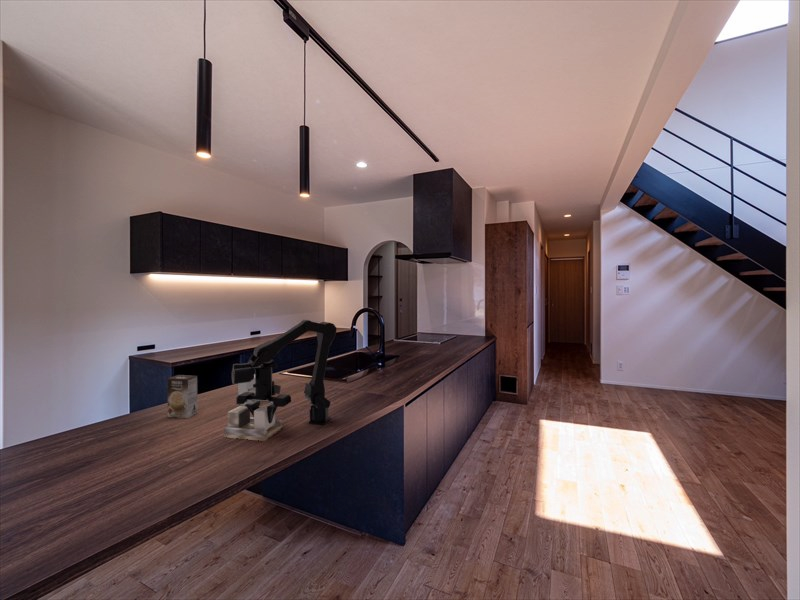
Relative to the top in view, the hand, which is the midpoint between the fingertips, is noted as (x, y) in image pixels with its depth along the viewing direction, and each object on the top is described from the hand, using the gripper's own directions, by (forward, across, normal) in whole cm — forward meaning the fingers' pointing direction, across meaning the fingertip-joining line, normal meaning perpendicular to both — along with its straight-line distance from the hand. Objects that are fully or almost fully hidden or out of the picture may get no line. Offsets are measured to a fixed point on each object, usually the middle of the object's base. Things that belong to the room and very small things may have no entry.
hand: (264, 422), depth 126 cm
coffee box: (+4, +43, -10) cm, 44 cm away
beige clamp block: (+4, +4, 0) cm, 6 cm away
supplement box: (+4, +25, -29) cm, 39 cm away
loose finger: (+2, 0, 0) cm, 2 cm away
